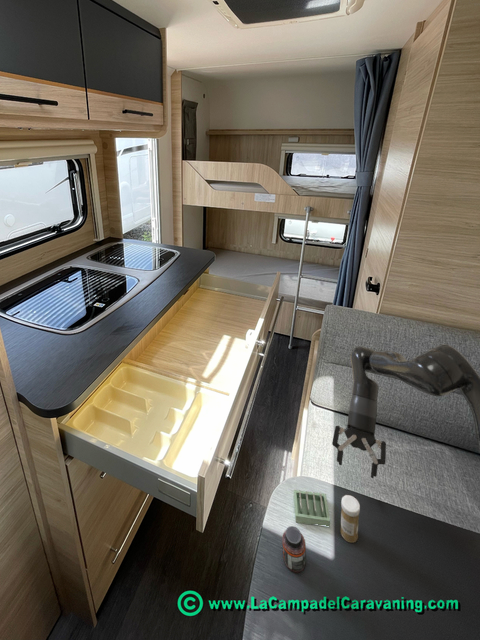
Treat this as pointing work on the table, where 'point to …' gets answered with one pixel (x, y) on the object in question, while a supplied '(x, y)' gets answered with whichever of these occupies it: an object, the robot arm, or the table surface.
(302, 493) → the drainer
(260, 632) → the table surface
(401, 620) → the table surface
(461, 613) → the table surface
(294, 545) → the supplement bottle
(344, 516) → the sprinkles bottle
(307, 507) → the drainer rack
